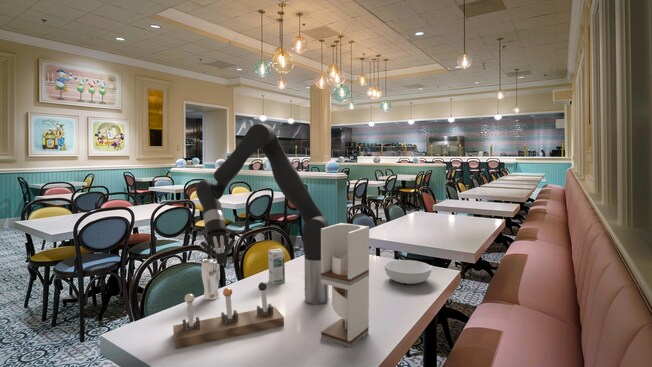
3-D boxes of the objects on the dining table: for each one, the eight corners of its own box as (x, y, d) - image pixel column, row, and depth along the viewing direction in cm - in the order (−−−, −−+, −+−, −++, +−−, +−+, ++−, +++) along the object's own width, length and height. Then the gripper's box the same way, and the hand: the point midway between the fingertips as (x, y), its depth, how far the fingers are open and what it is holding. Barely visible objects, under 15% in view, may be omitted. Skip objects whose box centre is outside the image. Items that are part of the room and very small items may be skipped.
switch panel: (274, 314, 137) (274, 298, 137) (284, 325, 128) (283, 309, 128) (173, 334, 123) (172, 317, 122) (176, 349, 114) (175, 330, 113)
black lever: (268, 312, 132) (265, 281, 134) (270, 313, 129) (267, 281, 131) (260, 314, 131) (256, 282, 133) (262, 314, 128) (259, 282, 130)
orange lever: (233, 319, 127) (230, 286, 129) (235, 320, 124) (232, 287, 126) (224, 321, 126) (221, 288, 128) (226, 322, 123) (223, 288, 125)
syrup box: (272, 284, 168) (272, 252, 167) (268, 280, 173) (268, 249, 172) (285, 282, 170) (284, 250, 169) (280, 278, 176) (279, 247, 174)
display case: (341, 324, 129) (341, 222, 126) (368, 332, 123) (369, 226, 120) (321, 337, 120) (320, 228, 117) (350, 347, 114) (350, 233, 111)
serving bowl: (437, 278, 176) (437, 263, 175) (422, 292, 158) (422, 276, 158) (394, 270, 187) (394, 257, 186) (376, 283, 169) (376, 268, 169)
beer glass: (215, 301, 149) (214, 264, 148) (199, 300, 151) (197, 263, 149) (223, 294, 156) (222, 259, 155) (207, 293, 158) (206, 258, 156)
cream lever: (196, 326, 122) (193, 292, 124) (197, 327, 119) (194, 292, 121) (186, 328, 120) (183, 294, 122) (186, 329, 118) (184, 294, 120)
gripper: (197, 219, 139) (203, 261, 129) (233, 216, 145) (241, 256, 135) (196, 231, 144) (201, 271, 134) (231, 228, 150) (238, 267, 140)
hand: (221, 264), depth 135 cm, fingers closed
